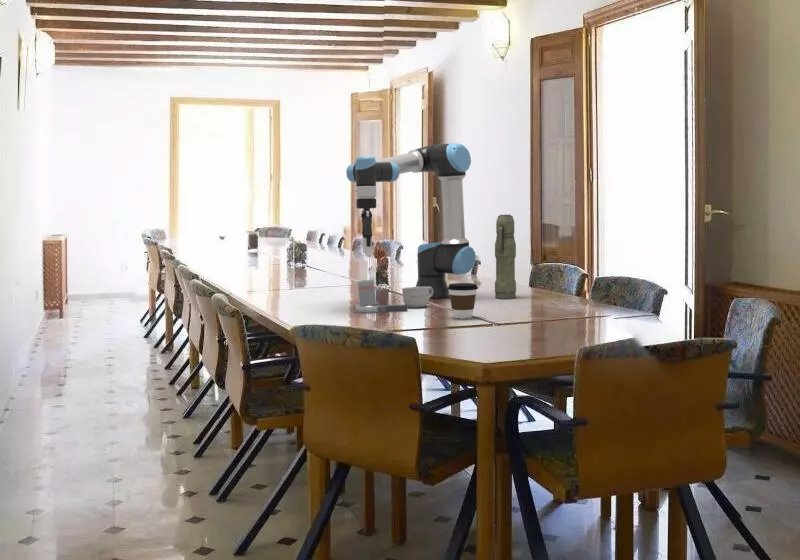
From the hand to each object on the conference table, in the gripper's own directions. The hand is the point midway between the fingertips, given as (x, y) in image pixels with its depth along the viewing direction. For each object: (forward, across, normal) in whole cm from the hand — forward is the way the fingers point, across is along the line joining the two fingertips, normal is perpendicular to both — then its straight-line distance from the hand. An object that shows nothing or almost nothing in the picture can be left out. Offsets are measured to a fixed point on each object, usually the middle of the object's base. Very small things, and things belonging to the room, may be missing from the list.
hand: (367, 254), depth 357 cm
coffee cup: (+22, +24, +32) cm, 46 cm away
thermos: (+22, -33, +60) cm, 72 cm away
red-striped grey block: (+19, +1, 0) cm, 19 cm away
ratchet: (+22, +1, +5) cm, 22 cm away
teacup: (+22, -10, +21) cm, 32 cm away
